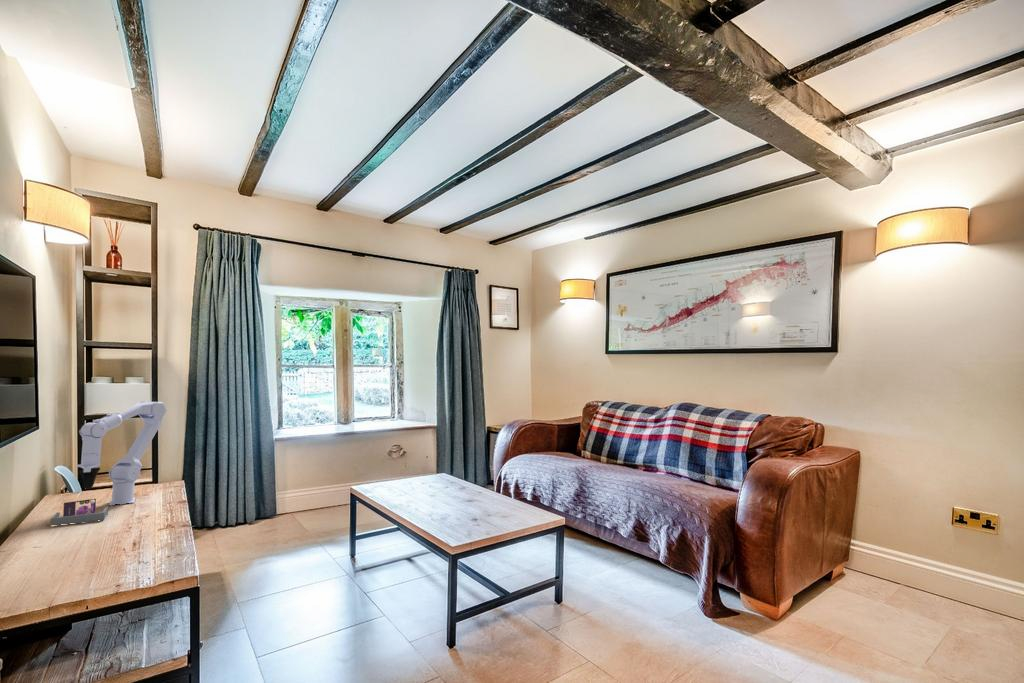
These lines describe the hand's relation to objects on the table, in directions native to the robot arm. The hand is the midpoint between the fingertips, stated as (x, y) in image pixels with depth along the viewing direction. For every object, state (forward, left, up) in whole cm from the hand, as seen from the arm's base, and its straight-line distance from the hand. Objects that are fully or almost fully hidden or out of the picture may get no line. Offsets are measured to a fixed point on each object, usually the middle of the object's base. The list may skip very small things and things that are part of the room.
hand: (88, 487), depth 187 cm
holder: (+13, 0, -9) cm, 16 cm away
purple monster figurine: (+8, -1, -10) cm, 13 cm away
